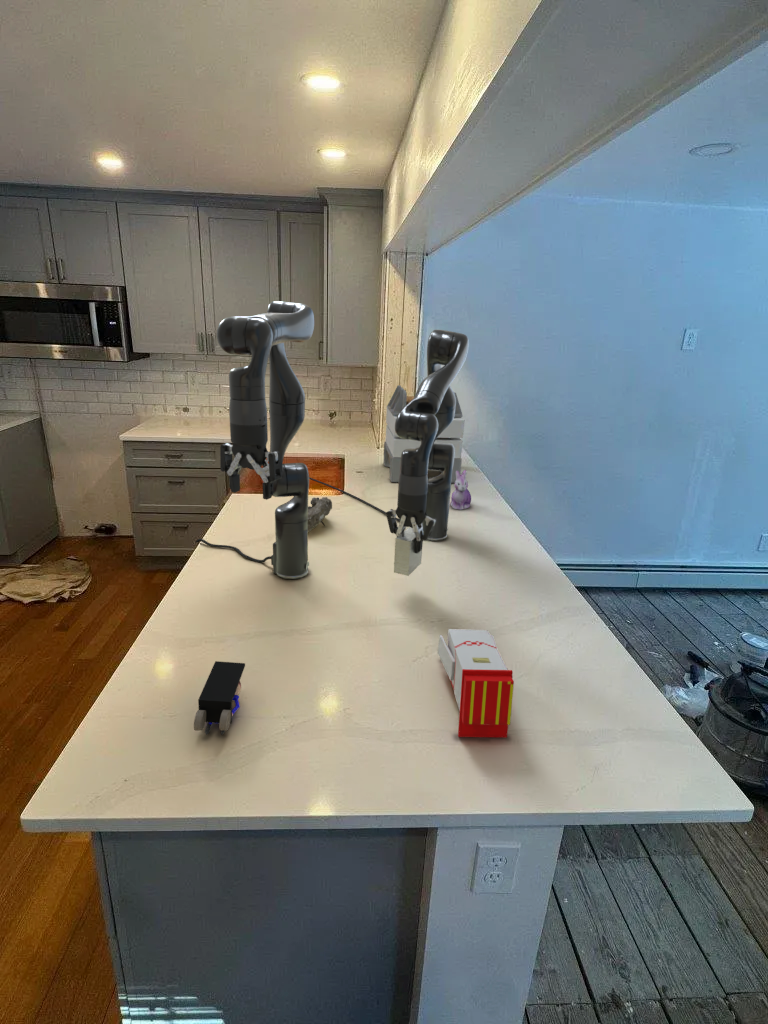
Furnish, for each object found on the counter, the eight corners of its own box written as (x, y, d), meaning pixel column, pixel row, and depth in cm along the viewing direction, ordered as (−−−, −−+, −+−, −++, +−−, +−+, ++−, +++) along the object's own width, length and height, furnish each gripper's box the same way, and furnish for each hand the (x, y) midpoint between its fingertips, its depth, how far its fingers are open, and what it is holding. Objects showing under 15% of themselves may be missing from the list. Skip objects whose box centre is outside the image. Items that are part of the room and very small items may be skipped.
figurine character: (231, 748, 102) (248, 688, 116) (228, 717, 99) (246, 659, 113) (194, 747, 102) (215, 687, 116) (189, 716, 99) (212, 658, 112)
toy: (488, 613, 130) (523, 677, 101) (484, 667, 133) (517, 744, 104) (435, 612, 130) (455, 676, 101) (432, 666, 133) (451, 743, 103)
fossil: (299, 502, 213) (329, 481, 208) (315, 521, 216) (345, 501, 211) (284, 530, 194) (317, 507, 189) (302, 550, 196) (335, 528, 191)
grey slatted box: (382, 463, 289) (386, 382, 275) (445, 464, 293) (451, 384, 279) (390, 482, 257) (394, 392, 243) (460, 483, 261) (468, 394, 247)
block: (393, 572, 150) (395, 538, 147) (407, 560, 158) (409, 527, 154) (408, 576, 149) (410, 541, 145) (421, 563, 156) (423, 530, 153)
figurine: (458, 511, 224) (461, 475, 219) (444, 503, 233) (446, 468, 228) (477, 508, 228) (481, 473, 223) (462, 501, 237) (466, 466, 232)
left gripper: (208, 418, 116) (213, 493, 122) (265, 427, 110) (267, 505, 116) (233, 413, 123) (236, 485, 128) (287, 421, 117) (289, 496, 122)
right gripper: (381, 488, 145) (378, 549, 151) (433, 498, 139) (428, 561, 145) (393, 481, 151) (390, 540, 157) (443, 490, 146) (438, 551, 152)
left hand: (251, 495), depth 122 cm, fingers open, 8 cm apart
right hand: (409, 550), depth 151 cm, fingers closed on block, 4 cm apart
